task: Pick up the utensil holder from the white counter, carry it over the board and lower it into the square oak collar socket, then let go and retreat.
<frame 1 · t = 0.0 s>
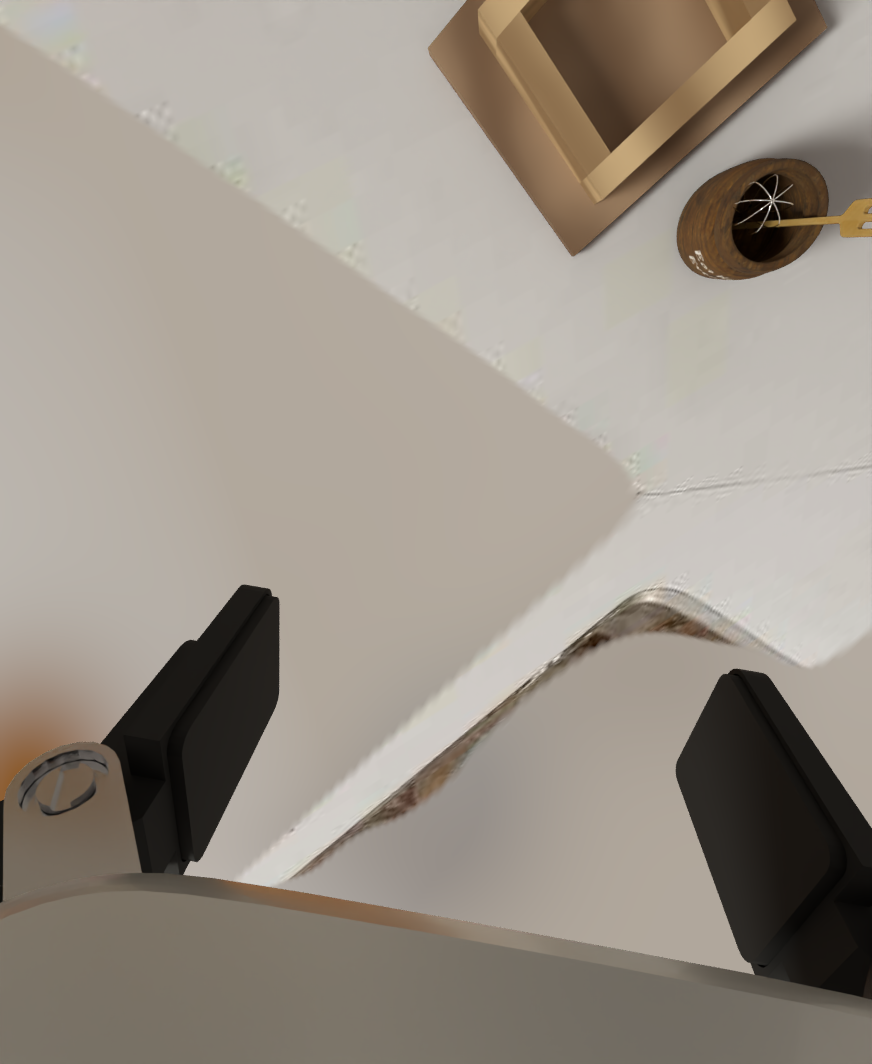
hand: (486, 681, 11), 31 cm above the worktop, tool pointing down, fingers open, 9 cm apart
utensil holder: (723, 227, 33), on the worktop
socket board: (616, 46, 30), on the worktop
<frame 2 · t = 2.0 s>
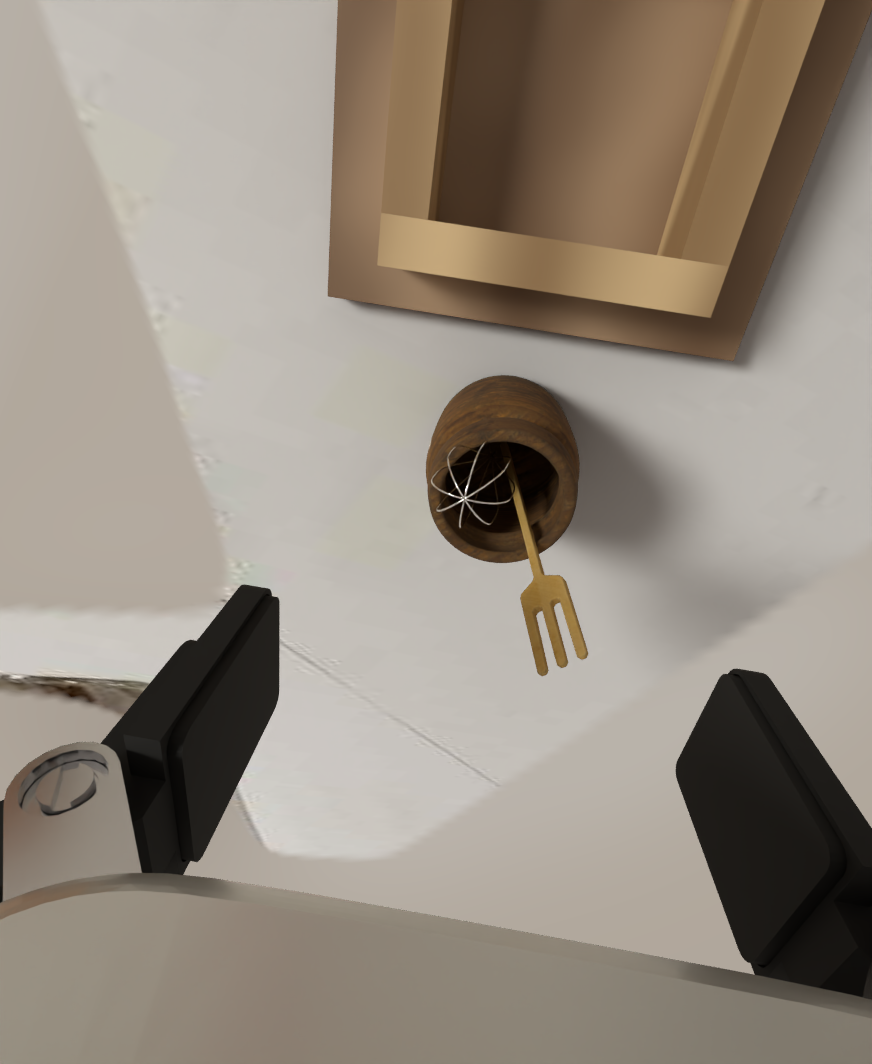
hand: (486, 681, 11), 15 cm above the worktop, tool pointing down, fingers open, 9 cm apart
utensil holder: (502, 438, 24), on the worktop
socket board: (570, 111, 18), on the worktop
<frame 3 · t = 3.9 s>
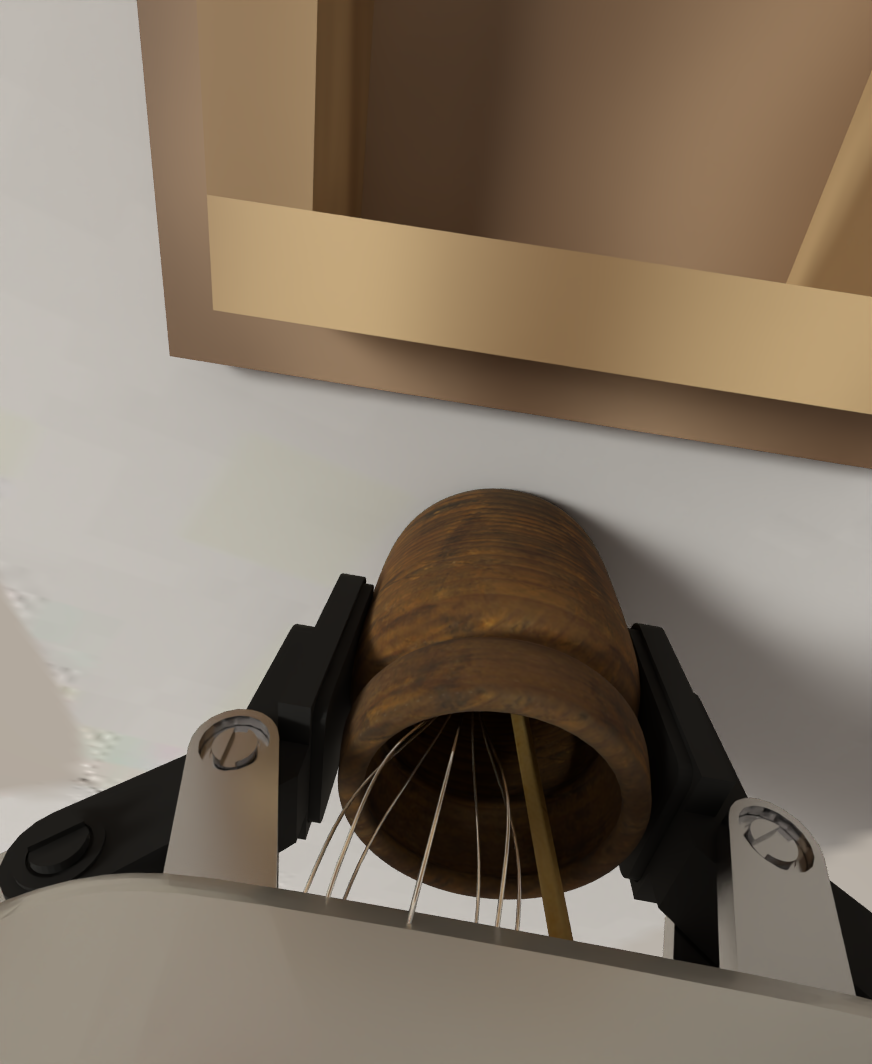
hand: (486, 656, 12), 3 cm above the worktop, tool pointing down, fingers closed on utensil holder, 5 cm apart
utensil holder: (495, 579, 15), on the worktop, touching gripper
socket board: (619, 0, 9), on the worktop
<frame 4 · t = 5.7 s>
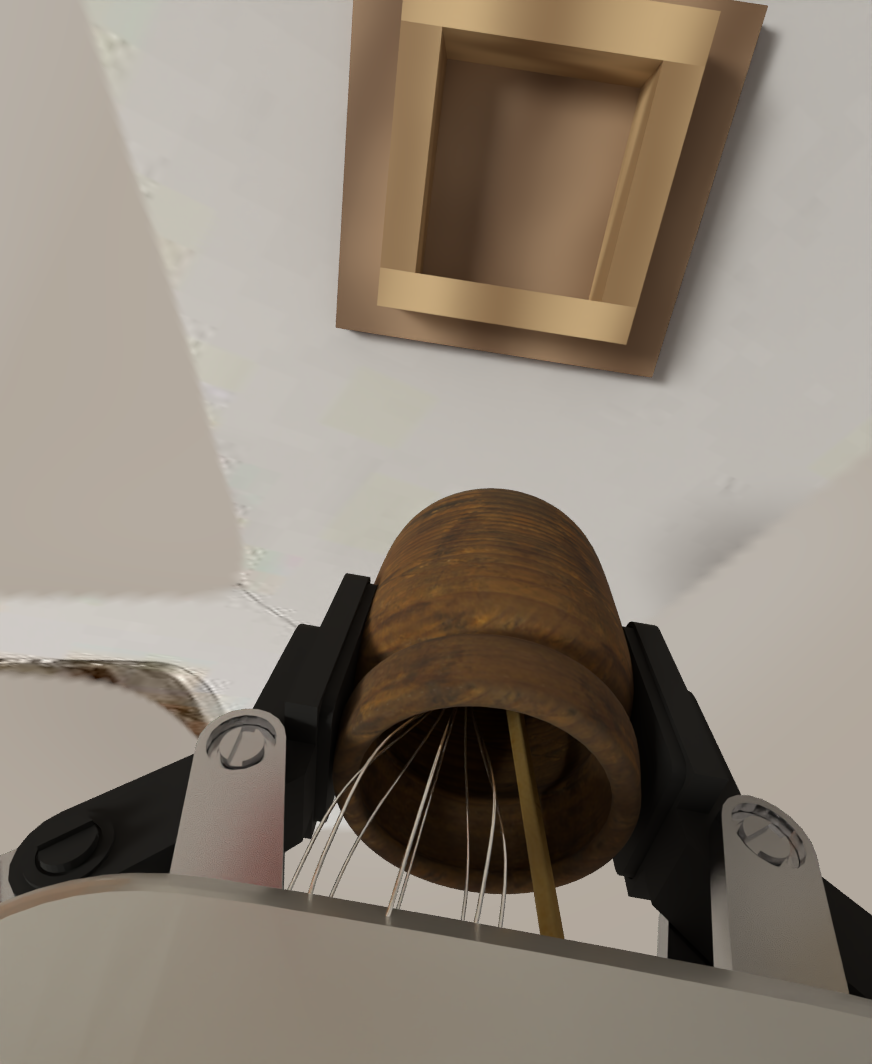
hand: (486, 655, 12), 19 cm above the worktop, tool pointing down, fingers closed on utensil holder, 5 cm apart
utensil holder: (493, 578, 15), point 16 cm above the worktop, touching gripper
socket board: (521, 192, 24), on the worktop
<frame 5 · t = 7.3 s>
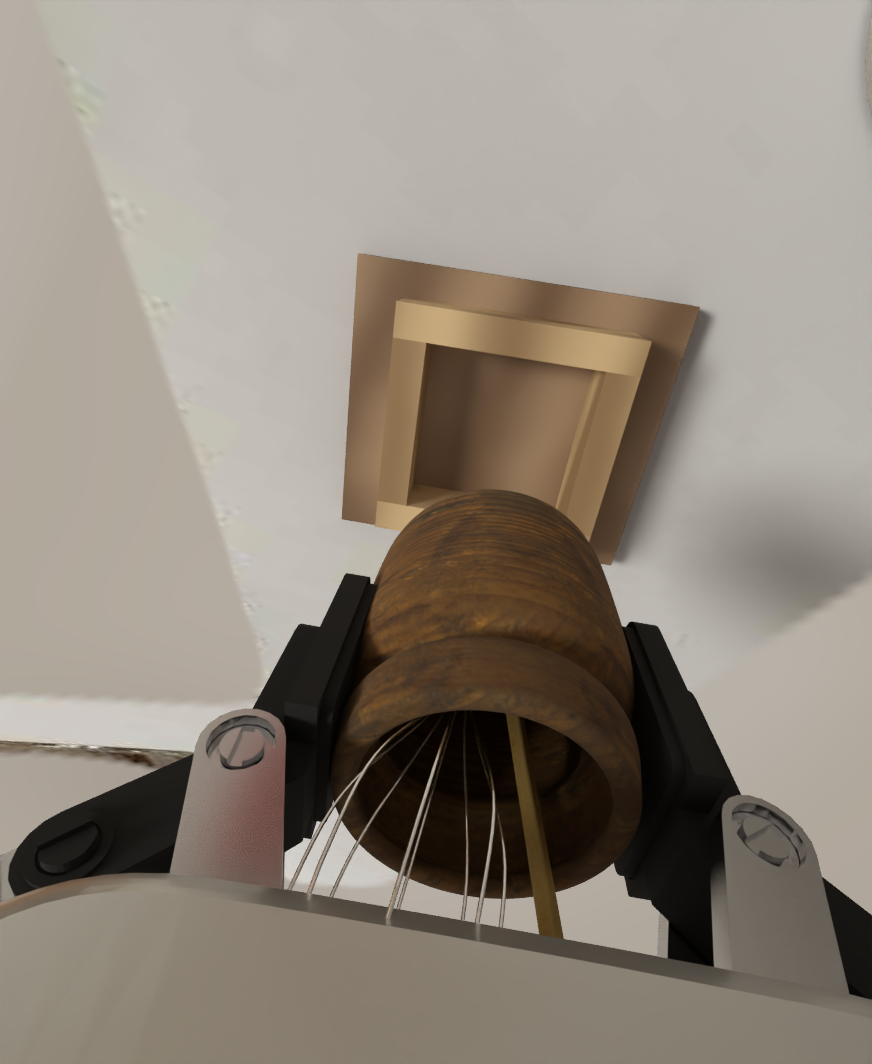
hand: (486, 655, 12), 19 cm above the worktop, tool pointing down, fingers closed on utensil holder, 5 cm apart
utensil holder: (493, 579, 15), point 16 cm above the worktop, touching gripper
socket board: (498, 420, 29), on the worktop
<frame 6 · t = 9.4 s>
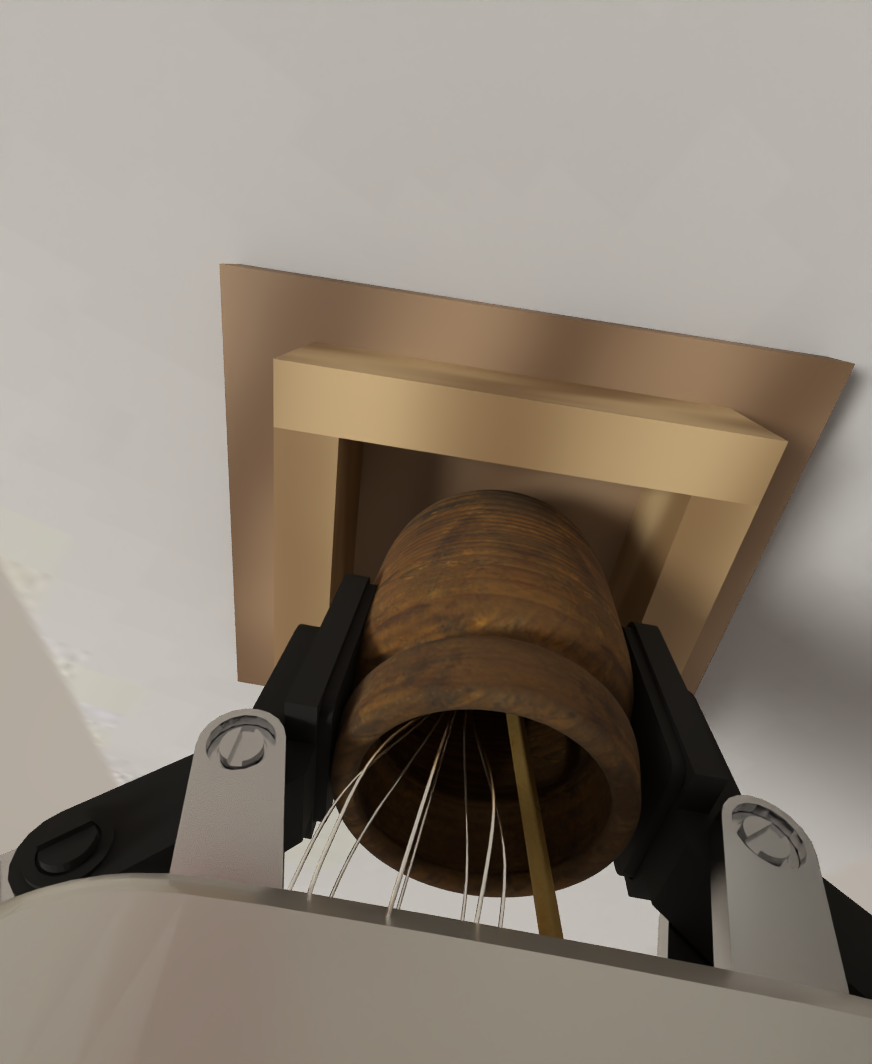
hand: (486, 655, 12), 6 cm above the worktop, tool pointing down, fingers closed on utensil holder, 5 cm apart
utensil holder: (493, 579, 15), point 3 cm above the worktop, touching gripper
socket board: (483, 537, 17), on the worktop
when the fingers open (6 cm above the worktop, at t = 10.0 s): utensil holder drops 2 cm, resting on socket board.
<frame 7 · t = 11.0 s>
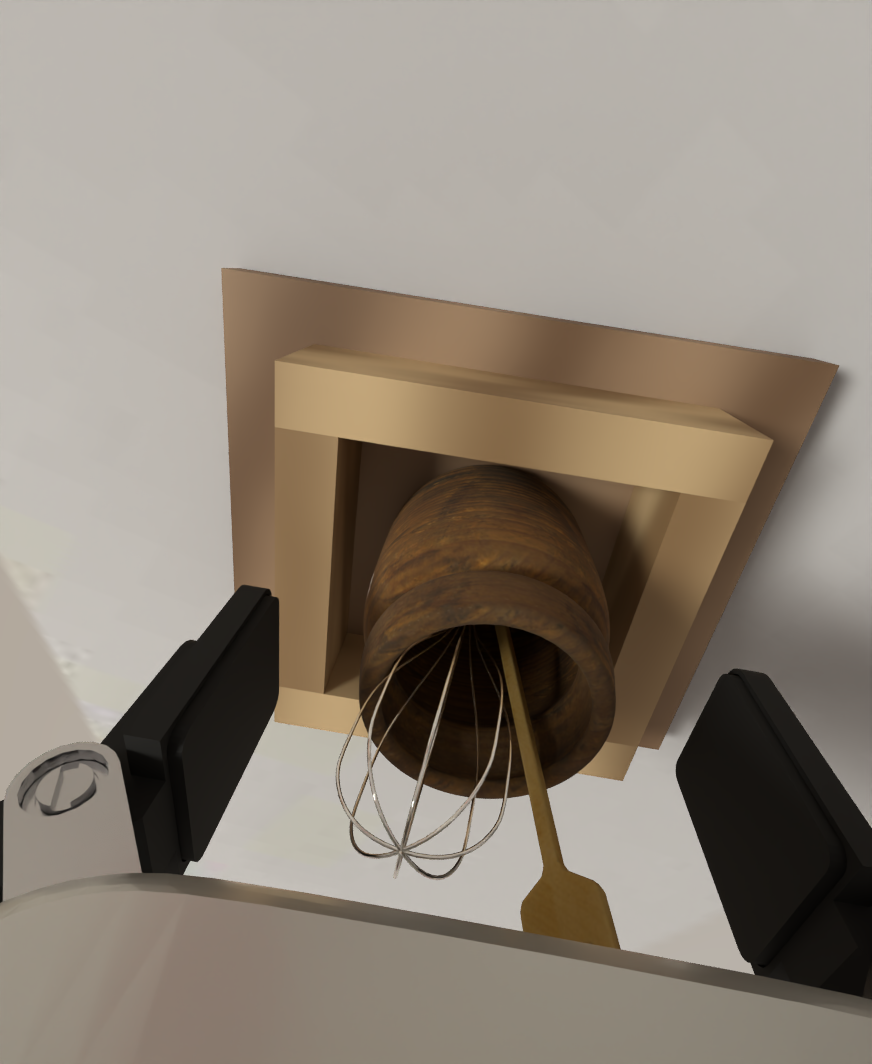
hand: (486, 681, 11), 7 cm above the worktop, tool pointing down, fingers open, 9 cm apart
utensil holder: (485, 548, 17), point 1 cm above the worktop, touching socket board
socket board: (480, 535, 18), on the worktop
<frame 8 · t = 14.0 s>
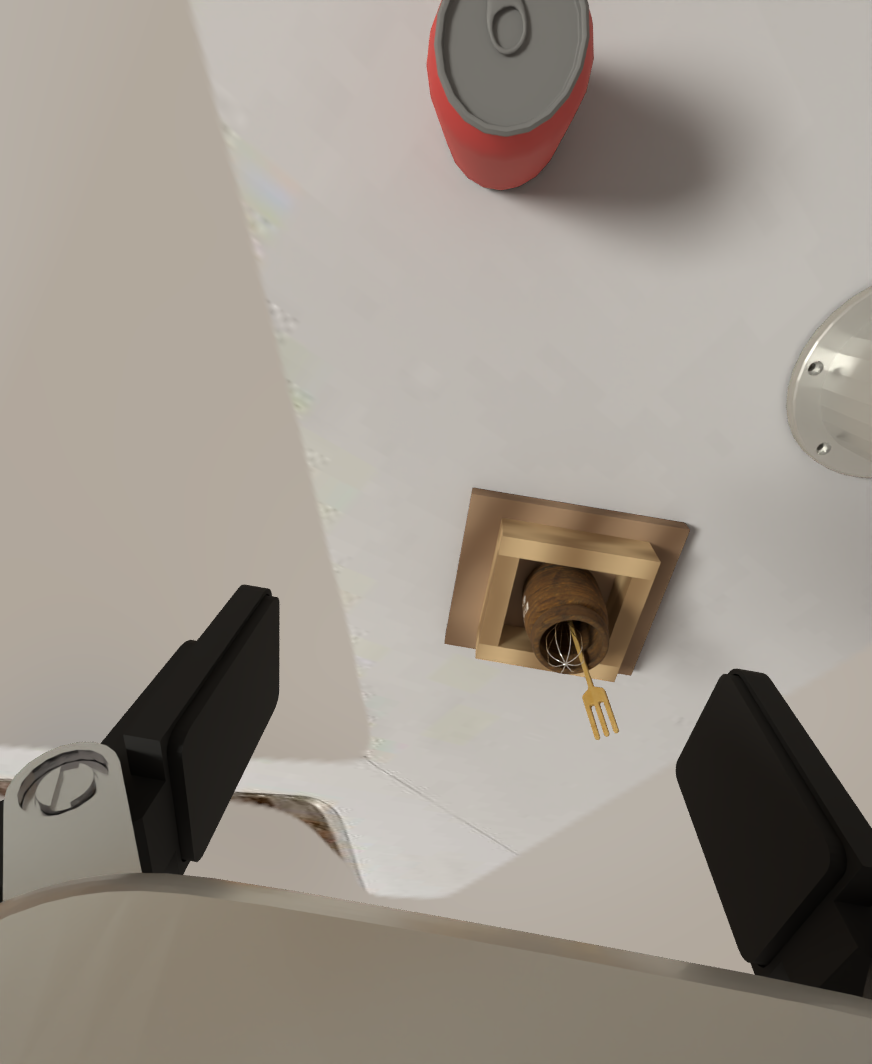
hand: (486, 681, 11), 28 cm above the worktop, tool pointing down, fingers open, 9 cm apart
beer can: (503, 123, 30), on the worktop
utensil holder: (559, 589, 42), point 1 cm above the worktop, touching socket board
socket board: (555, 583, 43), on the worktop
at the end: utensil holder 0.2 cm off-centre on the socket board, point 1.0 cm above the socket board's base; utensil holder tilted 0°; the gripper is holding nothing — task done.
